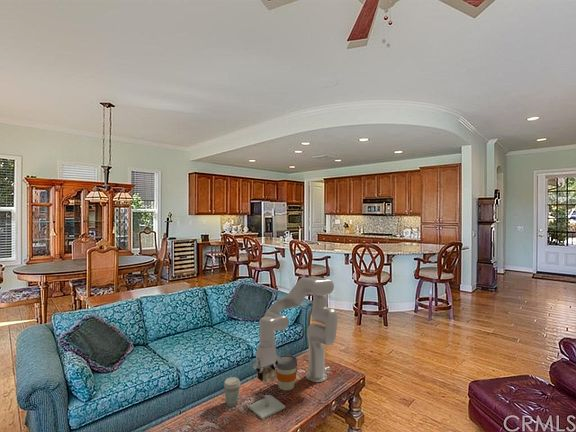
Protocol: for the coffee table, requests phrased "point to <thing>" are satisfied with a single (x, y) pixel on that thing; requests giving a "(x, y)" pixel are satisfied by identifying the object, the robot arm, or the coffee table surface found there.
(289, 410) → the coffee table surface
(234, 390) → the coffee cup
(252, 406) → the post block
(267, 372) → the ring
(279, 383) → the reusable coffee cup
